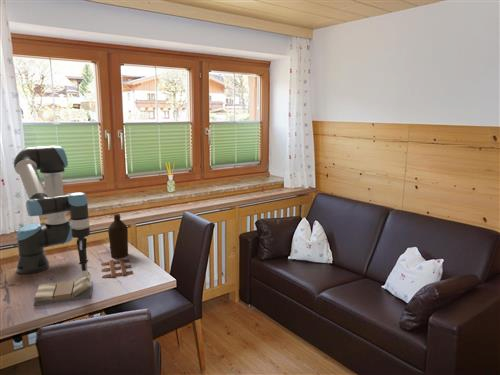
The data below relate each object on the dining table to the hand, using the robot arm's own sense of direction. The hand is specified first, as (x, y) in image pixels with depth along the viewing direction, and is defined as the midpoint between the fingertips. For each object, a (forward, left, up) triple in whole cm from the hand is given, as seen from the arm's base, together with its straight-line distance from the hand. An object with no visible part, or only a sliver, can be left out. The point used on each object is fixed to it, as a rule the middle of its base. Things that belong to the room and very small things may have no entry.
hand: (84, 276), depth 178 cm
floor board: (0, -9, -8) cm, 12 cm away
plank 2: (0, -1, -4) cm, 4 cm away
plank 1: (0, -17, -6) cm, 18 cm away
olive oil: (-44, +15, -8) cm, 47 cm away
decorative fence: (-24, +13, -9) cm, 29 cm away
